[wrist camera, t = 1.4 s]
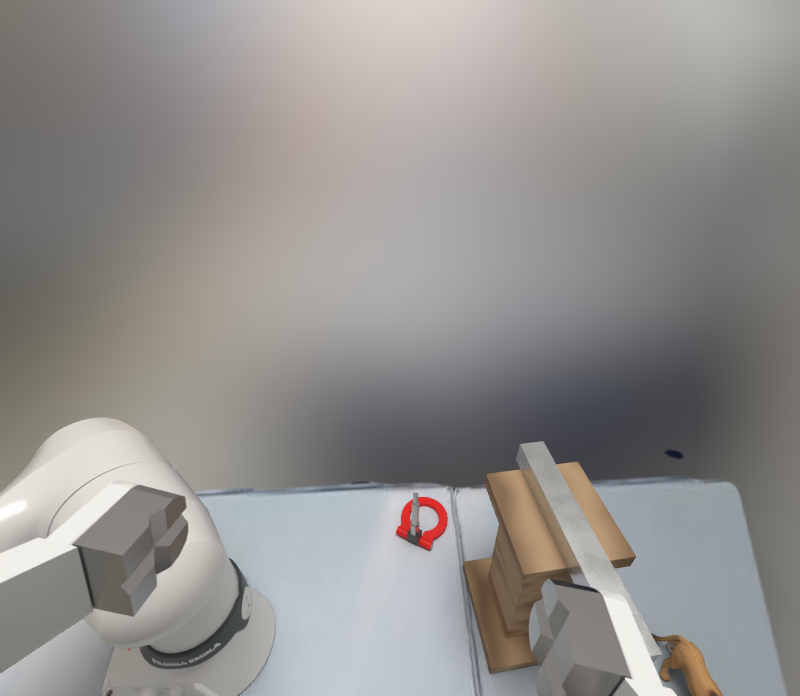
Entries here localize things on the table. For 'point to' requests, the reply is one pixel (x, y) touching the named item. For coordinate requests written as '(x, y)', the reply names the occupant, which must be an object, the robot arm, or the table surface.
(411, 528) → the tow hook
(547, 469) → the metal block
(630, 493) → the table surface
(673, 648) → the lion figurine
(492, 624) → the walnut stand
